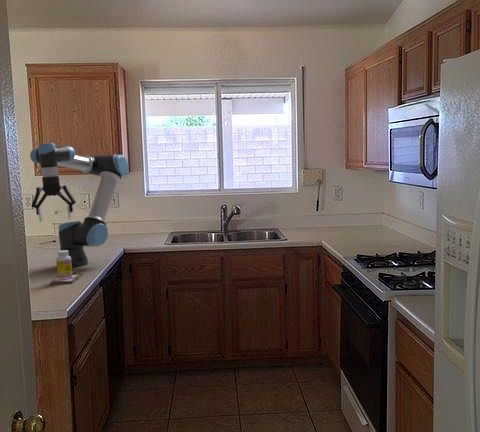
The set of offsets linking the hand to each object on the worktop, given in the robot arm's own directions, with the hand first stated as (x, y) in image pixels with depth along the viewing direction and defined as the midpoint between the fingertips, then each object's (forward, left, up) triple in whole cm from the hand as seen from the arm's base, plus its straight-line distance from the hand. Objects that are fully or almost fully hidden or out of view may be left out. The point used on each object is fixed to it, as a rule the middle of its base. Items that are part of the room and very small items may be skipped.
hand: (55, 220), depth 248 cm
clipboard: (+8, +5, -27) cm, 29 cm away
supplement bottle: (+10, +5, -27) cm, 29 cm away
